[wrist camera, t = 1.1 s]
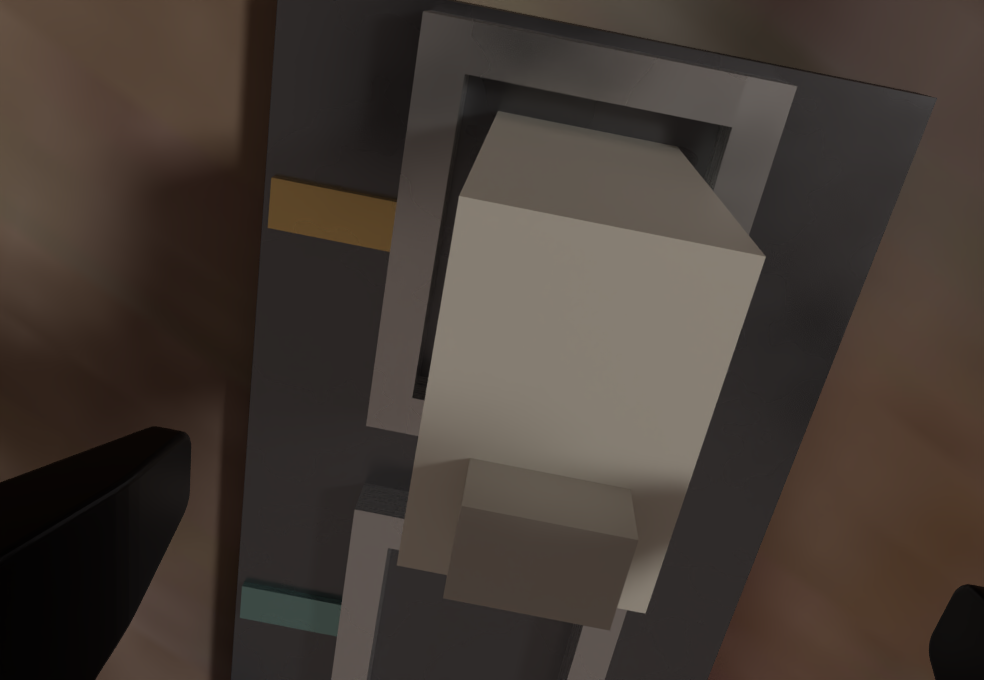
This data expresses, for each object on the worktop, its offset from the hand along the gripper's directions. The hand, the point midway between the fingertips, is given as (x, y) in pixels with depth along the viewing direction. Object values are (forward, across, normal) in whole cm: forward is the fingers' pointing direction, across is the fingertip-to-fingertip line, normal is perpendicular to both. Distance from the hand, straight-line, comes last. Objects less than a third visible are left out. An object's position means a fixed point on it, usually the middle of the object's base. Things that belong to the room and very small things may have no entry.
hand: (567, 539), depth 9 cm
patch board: (+12, 0, +7) cm, 13 cm away
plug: (+10, 0, 0) cm, 10 cm away
